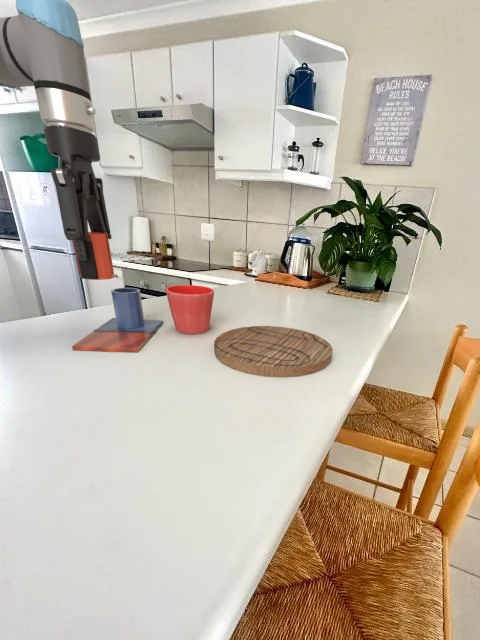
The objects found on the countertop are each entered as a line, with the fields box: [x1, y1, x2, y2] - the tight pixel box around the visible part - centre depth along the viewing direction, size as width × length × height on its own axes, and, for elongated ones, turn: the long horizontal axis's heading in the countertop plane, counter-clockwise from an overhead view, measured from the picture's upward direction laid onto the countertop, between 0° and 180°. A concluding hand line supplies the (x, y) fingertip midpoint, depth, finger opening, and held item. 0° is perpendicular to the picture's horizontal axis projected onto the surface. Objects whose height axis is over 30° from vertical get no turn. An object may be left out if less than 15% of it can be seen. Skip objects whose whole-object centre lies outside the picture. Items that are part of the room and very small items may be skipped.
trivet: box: [213, 325, 334, 378], centre depth 69 cm, size 25×25×2 cm
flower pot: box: [165, 284, 215, 335], centre depth 76 cm, size 11×11×10 cm
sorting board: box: [71, 317, 164, 353], centre depth 71 cm, size 12×20×1 cm, turn 5°
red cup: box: [72, 231, 115, 281], centre depth 62 cm, size 6×6×8 cm
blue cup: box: [110, 287, 145, 329], centre depth 74 cm, size 6×6×8 cm
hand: (97, 275), depth 63 cm, fingers closed on red cup, 6 cm apart
